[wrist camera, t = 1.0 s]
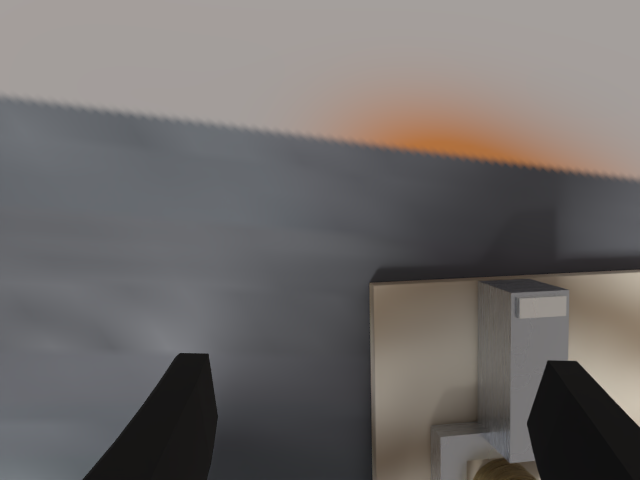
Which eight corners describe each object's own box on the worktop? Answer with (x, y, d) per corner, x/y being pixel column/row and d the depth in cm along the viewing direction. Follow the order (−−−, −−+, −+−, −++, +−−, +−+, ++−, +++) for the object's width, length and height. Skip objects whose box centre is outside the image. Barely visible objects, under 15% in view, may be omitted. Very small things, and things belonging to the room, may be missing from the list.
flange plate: (569, 552, 26) (615, 601, 23) (431, 571, 25) (459, 624, 22) (574, 276, 25) (623, 287, 22) (429, 283, 24) (459, 296, 21)
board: (670, 588, 29) (682, 599, 28) (374, 632, 26) (378, 645, 25) (681, 267, 27) (695, 269, 26) (369, 282, 25) (373, 285, 24)
